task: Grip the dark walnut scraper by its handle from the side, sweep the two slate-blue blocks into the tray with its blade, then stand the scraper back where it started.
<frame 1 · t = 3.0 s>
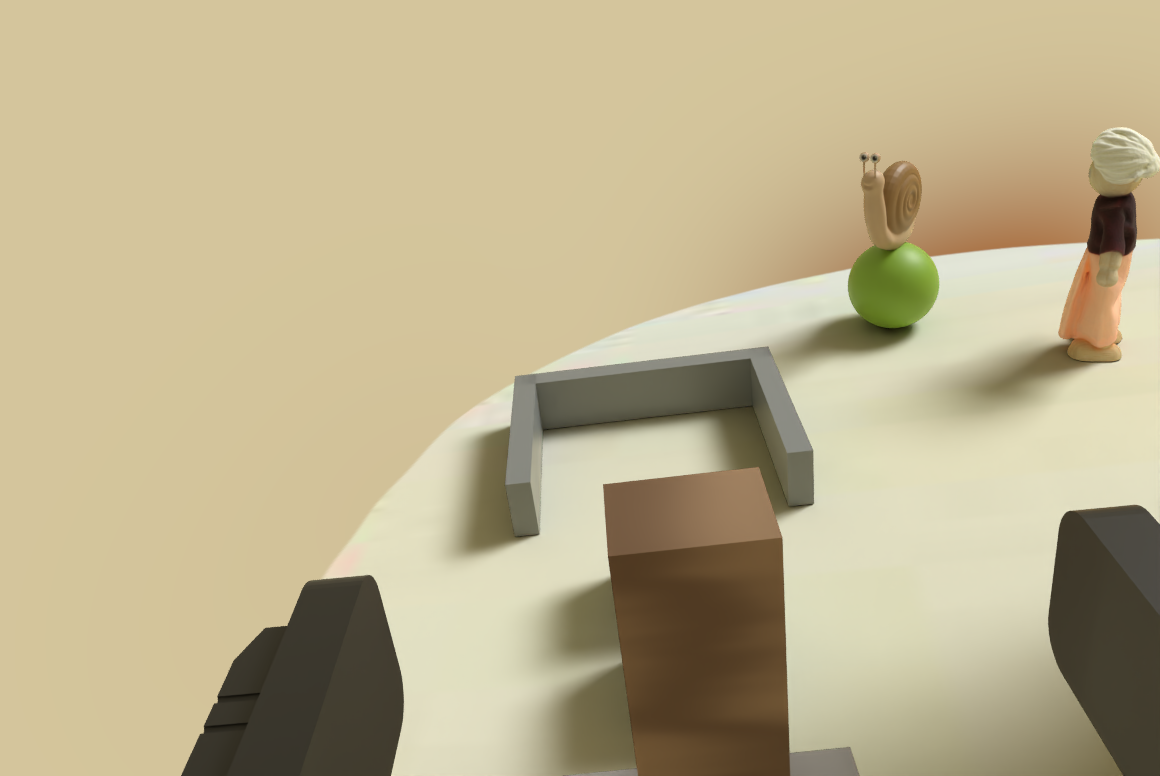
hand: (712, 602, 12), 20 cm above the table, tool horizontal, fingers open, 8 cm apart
snail figurine: (888, 329, 62), on the table
grandmother figurine: (1093, 352, 57), on the table
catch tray: (654, 464, 52), on the table
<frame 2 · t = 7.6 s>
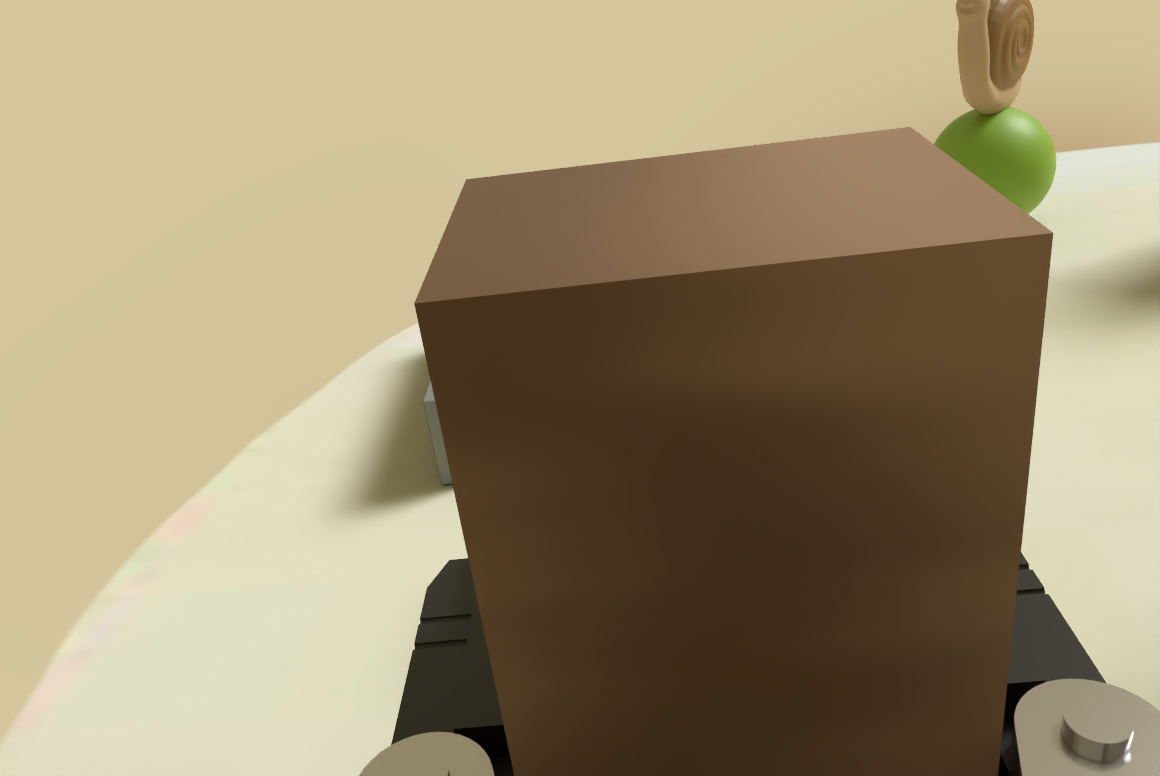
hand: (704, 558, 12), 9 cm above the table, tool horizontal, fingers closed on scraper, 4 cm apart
snail figurine: (981, 231, 46), on the table
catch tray: (657, 389, 35), on the table
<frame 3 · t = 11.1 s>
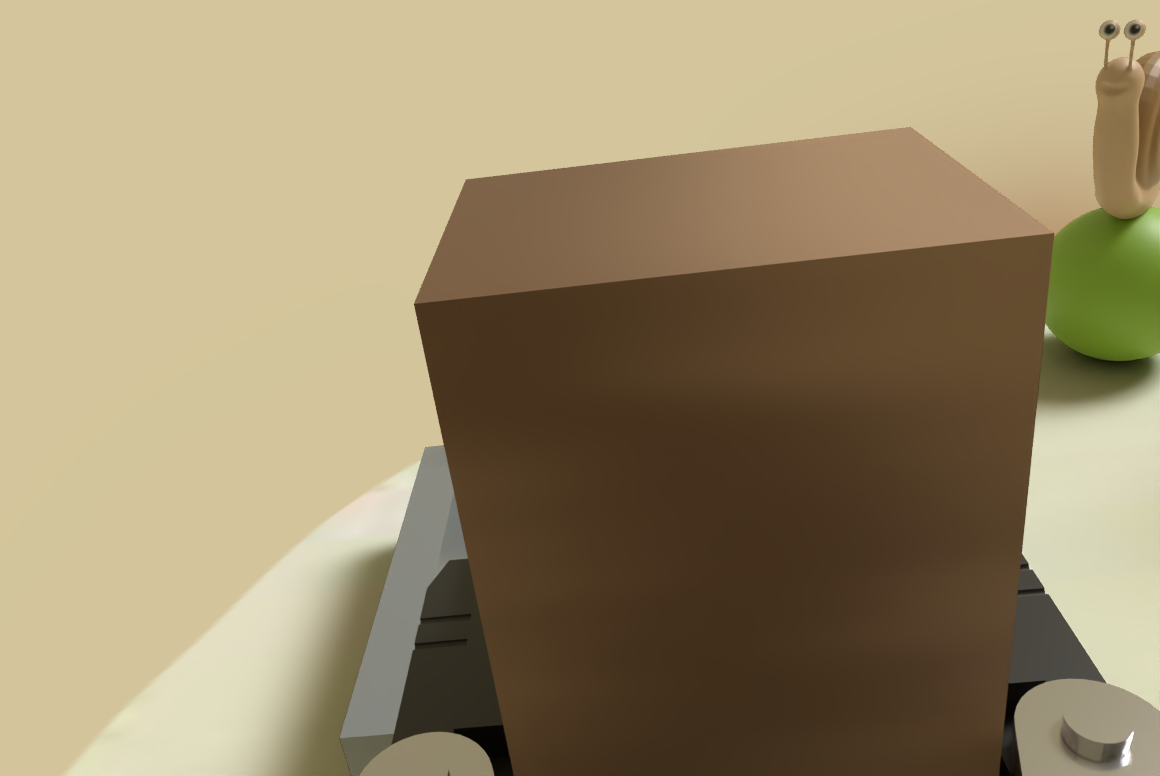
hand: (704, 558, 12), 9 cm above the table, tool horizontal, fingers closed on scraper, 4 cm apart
snail figurine: (1105, 363, 35), on the table
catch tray: (693, 647, 25), on the table
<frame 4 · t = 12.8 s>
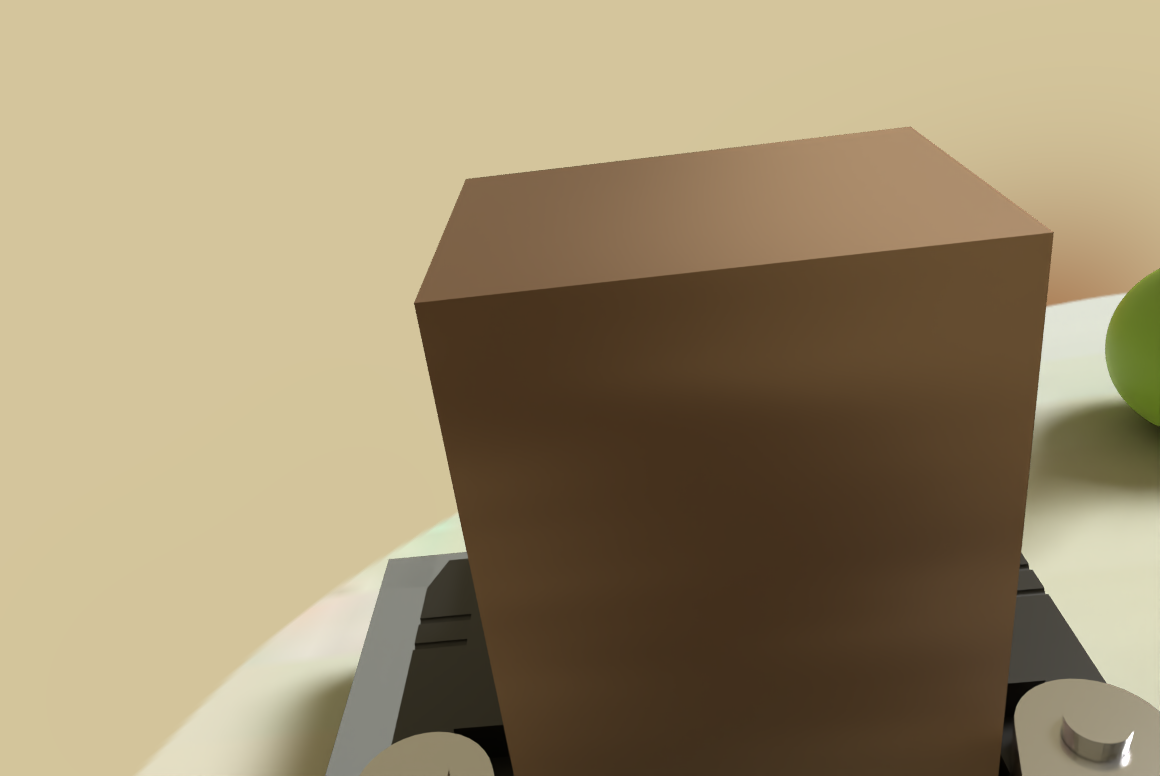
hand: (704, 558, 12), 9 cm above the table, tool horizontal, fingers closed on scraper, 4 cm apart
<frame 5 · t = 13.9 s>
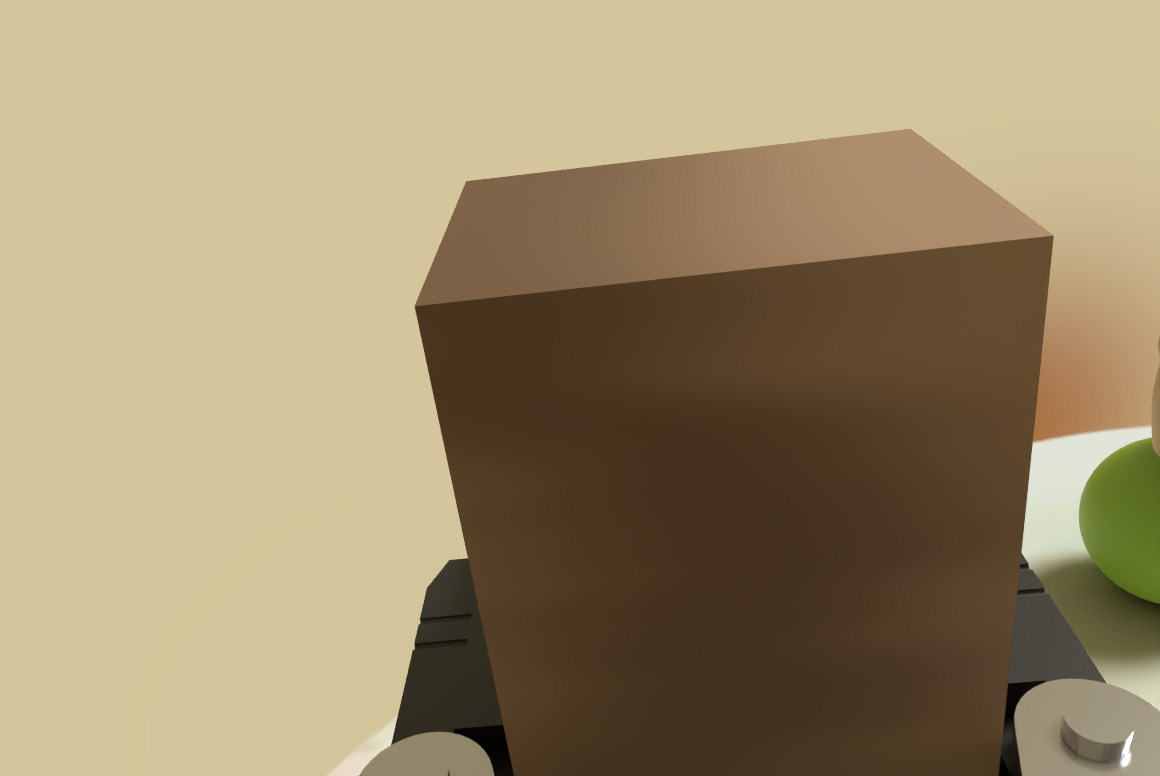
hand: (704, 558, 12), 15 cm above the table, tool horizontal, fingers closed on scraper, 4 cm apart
snail figurine: (1155, 600, 33), on the table
when the fingers open (9 cm above the table, at t = 18.2 s): scraper stays where it is, on the table.
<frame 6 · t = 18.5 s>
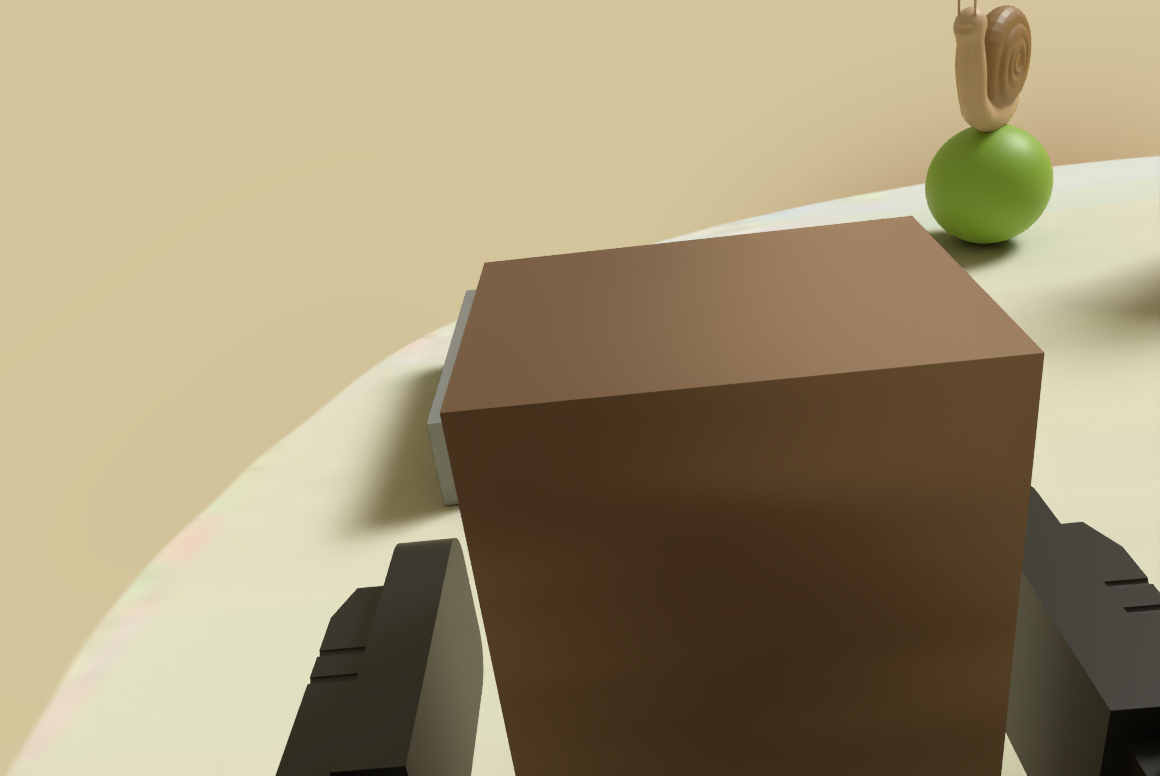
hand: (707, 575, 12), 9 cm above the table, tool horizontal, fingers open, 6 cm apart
snail figurine: (979, 247, 46), on the table
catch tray: (658, 408, 36), on the table
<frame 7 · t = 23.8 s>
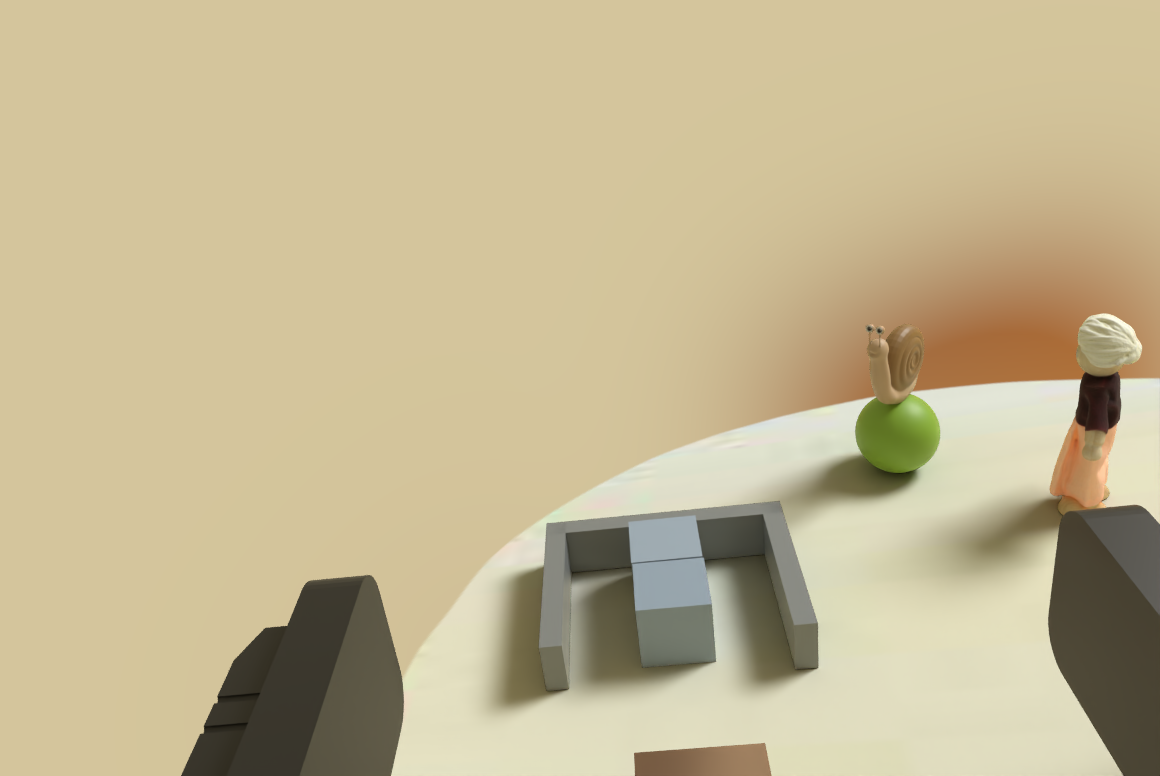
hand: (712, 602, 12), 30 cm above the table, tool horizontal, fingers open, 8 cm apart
snail figurine: (892, 472, 67), on the table
grandmother figurine: (1081, 507, 61), on the table
block b: (669, 593, 59), on the table
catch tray: (673, 616, 56), on the table
block a: (676, 640, 55), on the table
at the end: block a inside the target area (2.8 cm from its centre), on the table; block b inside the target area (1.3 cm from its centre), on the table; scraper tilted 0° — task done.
